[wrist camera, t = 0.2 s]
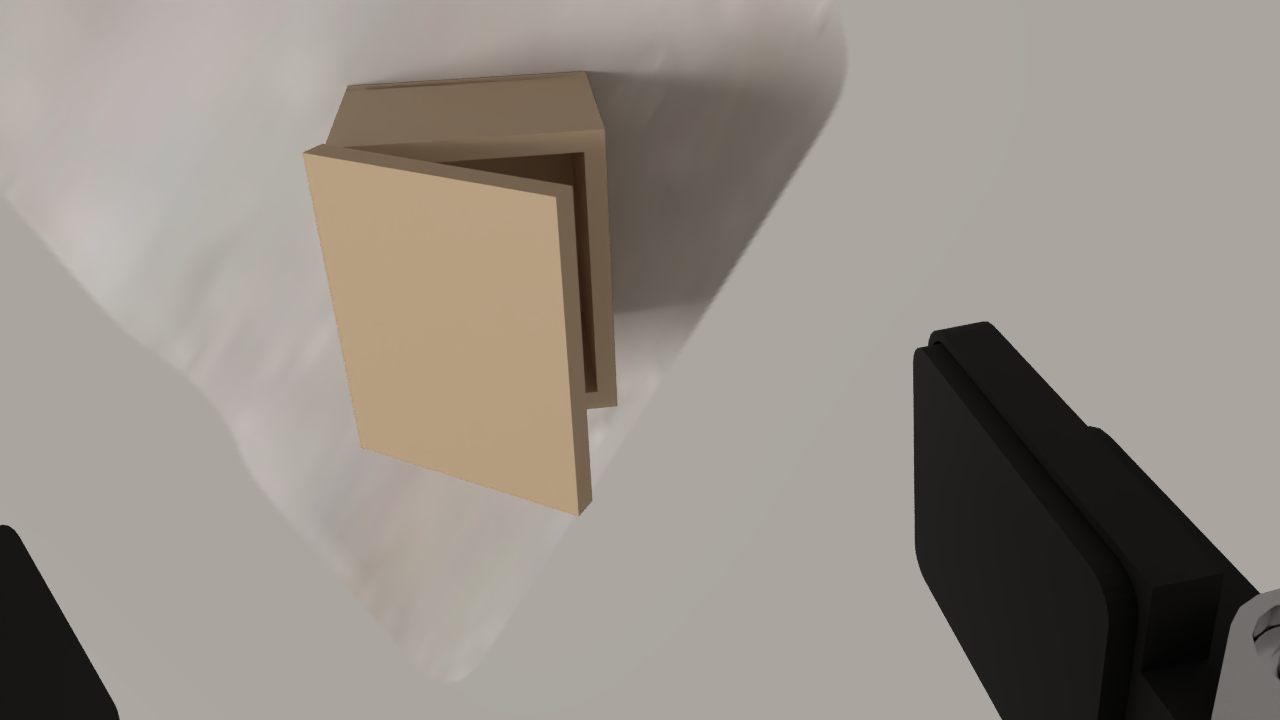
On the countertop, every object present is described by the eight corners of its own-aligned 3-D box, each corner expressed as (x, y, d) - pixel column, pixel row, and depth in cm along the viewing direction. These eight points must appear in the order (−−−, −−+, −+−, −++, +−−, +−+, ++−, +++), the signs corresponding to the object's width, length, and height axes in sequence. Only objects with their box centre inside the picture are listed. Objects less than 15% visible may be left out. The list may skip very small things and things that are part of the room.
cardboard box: (347, 86, 44) (323, 148, 37) (585, 71, 45) (605, 129, 38) (389, 335, 50) (376, 429, 43) (598, 317, 51) (617, 406, 44)
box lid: (322, 143, 37) (302, 152, 36) (572, 185, 33) (555, 196, 32) (377, 434, 43) (360, 447, 42) (592, 500, 39) (578, 516, 38)
